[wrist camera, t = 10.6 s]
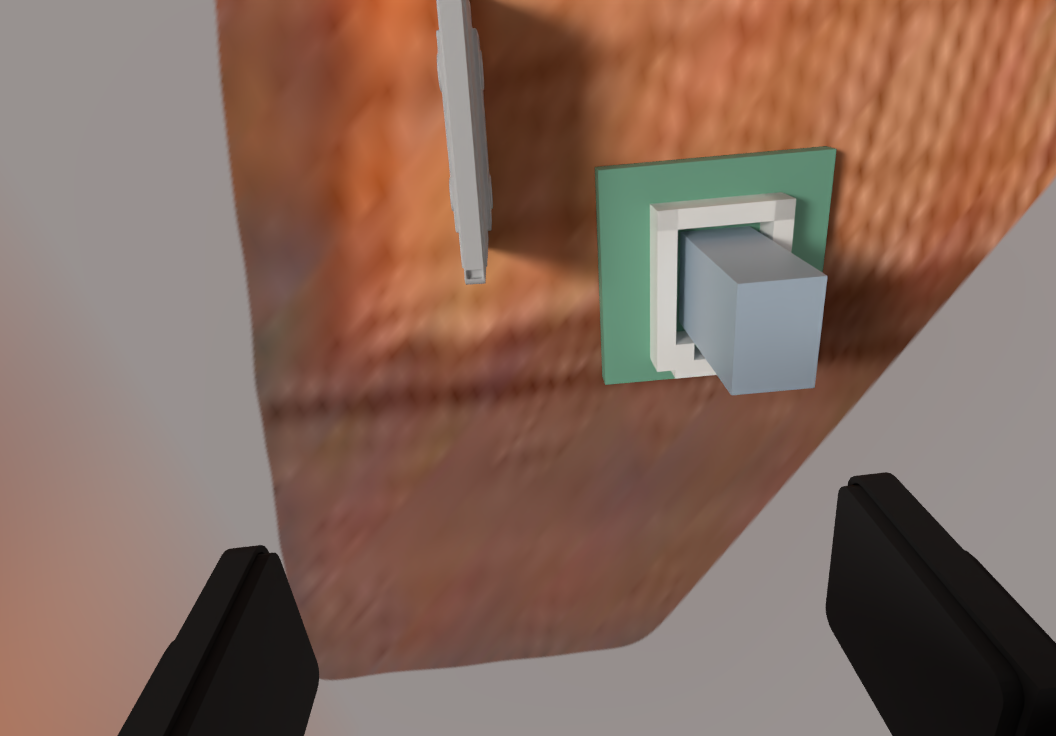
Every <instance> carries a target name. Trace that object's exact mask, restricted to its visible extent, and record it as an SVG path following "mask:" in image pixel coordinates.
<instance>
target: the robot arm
mask: <svg viewBox="0 0 1056 736" xmlns="http://www.w3.org/2000/svg"><path fill="white" fill-rule="evenodd" d="M826 615H827V619H828V622H829V625H830V627H831V630H832V632H833V633H834V635H835V637H836V638H837V640H838V642H839V644H840V645H841V647H842V649H843V651H844V652H845V654H846V655H847V657H848V659H849V661H850V663H851V664H852V666H853V668H854V670H855V671H856V673H857V675H858V677H859V678H860V680H861V682H862V684H863V685H864V687H865V689H866V691H867V692H868V694H869V696H870V697H871V699H872V701H873V702H874V704H875V706H876V708H877V710H878V711H879V713H880V715H881V716H882V718H883V720H884V722H885V724H886V725H887V727H888V729H889V730H890V732H891V734H892V736H1056V643H1055V642H1054V641H1053V640H1052V639H1051V638H1050V637H1049V635H1048V634H1047V633H1045V631H1044V630H1043V629H1042V628H1041V627H1040V626H1039V625H1038V624H1037V623H1036V622H1035V621H1034V620H1033V618H1032V617H1031V616H1030V615H1029V614H1028V613H1027V612H1026V611H1025V610H1024V609H1023V608H1022V607H1021V606H1020V605H1019V604H1018V603H1017V602H1016V600H1015V599H1014V598H1013V597H1012V596H1011V595H1010V594H1009V593H1008V592H1007V591H1006V590H1005V589H1004V588H1003V587H1002V586H1001V585H1000V584H999V582H998V581H996V579H995V578H994V577H993V576H992V575H991V574H990V573H989V572H988V571H987V570H986V569H985V568H984V567H983V565H982V564H980V562H979V561H978V560H977V559H976V558H975V557H973V556H972V555H971V554H970V553H969V552H967V551H965V550H963V549H962V547H961V546H960V545H959V544H958V543H957V542H956V541H955V540H954V539H953V538H952V537H951V536H950V535H949V534H948V533H947V531H945V529H944V528H943V527H942V526H941V525H940V524H939V523H938V522H937V521H936V520H935V519H934V518H933V517H932V516H931V514H930V513H929V512H928V511H927V510H926V509H925V508H924V507H923V506H922V505H921V504H920V503H919V502H918V500H917V499H916V498H915V497H914V496H913V495H912V494H911V493H910V492H909V491H908V490H907V489H906V488H905V487H904V486H903V484H902V483H901V482H900V481H899V480H898V479H897V478H896V477H895V476H894V475H892V474H891V473H877V474H868V475H860V476H853V477H851V478H850V480H849V481H848V486H844V487H841V488H840V490H839V493H838V501H837V510H836V518H835V527H834V537H833V545H832V554H831V564H830V572H829V582H828V589H827V598H826ZM318 682H319V668H318V663H317V660H316V658H315V655H314V652H313V649H312V646H311V644H310V641H309V638H308V635H307V633H306V630H305V627H304V624H303V621H302V619H301V616H300V613H299V610H298V608H297V605H296V602H295V599H294V596H293V594H292V591H291V588H290V585H289V583H288V580H287V577H286V574H285V571H284V569H283V566H282V563H281V560H280V558H279V556H278V555H277V554H276V553H269V552H268V550H267V548H266V547H265V546H262V545H258V546H250V547H241V548H233V549H228V550H226V551H225V552H224V553H223V554H222V556H221V558H220V560H219V561H218V563H217V565H216V567H215V569H214V570H213V572H212V574H211V576H210V578H209V579H208V581H207V583H206V585H205V587H204V588H203V590H202V592H201V594H200V596H199V597H198V599H197V601H196V603H195V605H194V606H193V608H192V610H191V612H190V614H189V615H188V617H187V619H186V621H185V623H184V624H183V626H182V628H181V630H180V632H179V633H178V635H177V637H176V639H175V640H174V641H173V642H172V643H171V644H170V645H169V647H168V648H167V649H166V651H165V652H164V654H163V656H162V658H161V659H160V661H159V663H158V665H157V667H156V668H155V670H154V672H153V674H152V675H151V677H150V679H149V681H148V683H147V684H146V686H145V688H144V690H143V691H142V693H141V695H140V697H139V698H138V700H137V702H136V704H135V706H134V708H133V709H132V711H131V713H130V715H129V716H128V718H127V720H126V722H125V724H124V725H123V727H122V729H121V731H120V732H119V734H118V736H304V734H305V730H306V727H307V723H308V719H309V716H310V713H311V709H312V706H313V702H314V699H315V695H316V692H317V688H318Z"/></svg>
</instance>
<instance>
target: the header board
mask: <svg viewBox="0 0 1056 736" xmlns="http://www.w3.org/2000/svg"><path fill="white" fill-rule="evenodd" d="M835 158H836V149H835V148H831V147H827V146H823V147H812V148H801V149H789V150H778V151H767V152H756V153H745V154H734V155H723V156H712V157H700V158H689V159H678V160H667V161H656V162H645V163H634V164H622V165H611V166H600V167H595V186H596V214H597V241H598V269H599V296H600V324H601V351H602V376H603V379H604V382H605V385H607V384H618V383H629V382H640V381H651V380H662V379H673V378H675V379H676V378H686V377H697V376H708V375H717V374H716V373H715V371H714V370H713V369H712V367H711V366H710V364H709V363H708V362H707V360H706V359H705V357H704V356H703V355H702V353H701V352H700V350H699V349H698V348H697V346H696V345H695V343H694V342H693V340H692V339H691V338H690V336H689V335H688V333H687V332H686V331H685V329H684V328H683V326H682V325H681V324H680V322H679V286H680V233H681V232H685V231H696V230H708V229H719V228H730V227H741V226H750V227H752V228H753V229H755V230H756V231H758V232H759V233H761V234H763V235H764V236H766V237H767V238H769V239H770V240H772V241H774V242H775V243H777V244H778V245H780V246H781V247H783V248H785V249H786V250H788V251H789V252H791V253H792V254H794V255H796V256H797V257H799V258H800V259H802V260H803V261H805V262H807V263H808V264H810V265H811V266H813V267H814V268H816V269H818V270H819V271H821V272H822V273H823V265H824V256H825V247H826V238H827V229H828V220H829V211H830V202H831V193H832V184H833V175H834V167H835Z"/></svg>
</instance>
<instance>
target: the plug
mask: <svg viewBox="0 0 1056 736" xmlns="http://www.w3.org/2000/svg"><path fill="white" fill-rule="evenodd" d="M826 285H827V275H825V274H824V273H822V272H821V271H819V270H818V269H816V268H814V267H813V266H811V265H810V264H808V263H807V262H805V261H803V260H802V259H800V258H799V257H797V256H796V255H794V254H792V253H791V252H789V251H788V250H786V249H785V248H783V247H781V246H780V245H778V244H777V243H775V242H774V241H772V240H770V239H769V238H767V237H766V236H764V235H763V234H761V233H759V232H758V231H756V230H755V229H753V228H752V227H750V226H741V227H730V228H719V229H708V230H696V231H685V232H681V233H680V286H679V322H680V324H681V325H682V326H683V328H684V329H685V331H686V332H687V333H688V335H689V336H690V338H691V339H692V340H693V342H694V343H695V345H696V346H697V348H698V349H699V350H700V352H701V353H702V355H703V356H704V357H705V359H706V360H707V362H708V363H709V364H710V366H711V367H712V369H713V370H714V371H715V373H716V374H717V376H718V377H719V379H720V380H721V381H722V383H723V384H724V386H725V387H726V388H727V390H728V391H729V393H730V394H731V395H739V394H751V393H762V392H773V391H784V390H795V389H806V388H815V379H816V371H817V362H818V353H819V345H820V336H821V328H822V319H823V311H824V302H825V294H826Z"/></svg>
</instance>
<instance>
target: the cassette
mask: <svg viewBox="0 0 1056 736" xmlns="http://www.w3.org/2000/svg"><path fill="white" fill-rule="evenodd" d="M436 1H437V11H438V22H439V30H437V31H436V35H437V45H438V54H437V69H438V79H439V86H440V90H441V92H442V96H443V106H444V117H445V127H446V137H447V147H448V157H449V168H450V179H449V188H450V200H451V207H452V211H454V218H455V229H456V232H457V233H458V232H459V240H460V250H461V261H462V268H464V274H465V283H466V285H467V284H483V283H485V279H486V267H487V258H488V231H491V229H492V228H491V227H492V215H491V209H493V198H492V184H491V175H489V163H488V149H487V136H486V122H485V109H484V95H483V90H484V74H483V61H482V51H480V41H479V35H478V32H477V30H476V28H472V20H471V7H470V2H469V0H436Z"/></svg>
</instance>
